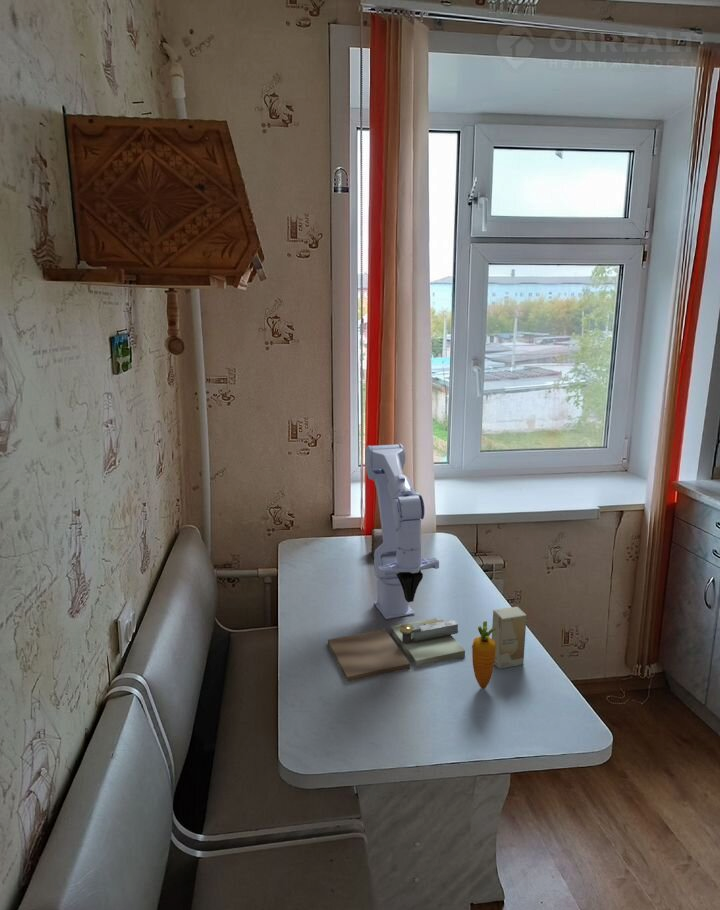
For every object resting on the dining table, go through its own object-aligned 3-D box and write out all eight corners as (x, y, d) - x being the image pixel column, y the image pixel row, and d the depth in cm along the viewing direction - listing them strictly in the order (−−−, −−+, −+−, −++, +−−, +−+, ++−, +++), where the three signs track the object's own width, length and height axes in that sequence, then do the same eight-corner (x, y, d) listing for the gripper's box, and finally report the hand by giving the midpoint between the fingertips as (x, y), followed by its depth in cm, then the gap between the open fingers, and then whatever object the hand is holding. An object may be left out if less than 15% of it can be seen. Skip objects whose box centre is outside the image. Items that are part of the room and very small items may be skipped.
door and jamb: (327, 644, 149) (327, 629, 148) (435, 623, 157) (435, 609, 156) (347, 681, 134) (346, 665, 133) (464, 656, 143) (465, 641, 142)
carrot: (478, 678, 134) (479, 615, 131) (499, 687, 131) (501, 622, 128) (466, 689, 131) (467, 624, 127) (487, 698, 128) (489, 632, 124)
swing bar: (402, 645, 144) (402, 632, 144) (397, 638, 147) (397, 625, 147) (458, 634, 148) (458, 621, 148) (452, 627, 151) (452, 615, 151)
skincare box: (499, 669, 138) (500, 619, 135) (489, 658, 142) (491, 609, 139) (525, 664, 139) (527, 614, 136) (515, 654, 143) (517, 605, 140)
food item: (411, 548, 205) (411, 520, 203) (416, 558, 197) (416, 528, 195) (370, 551, 204) (369, 522, 201) (373, 561, 196) (373, 531, 193)
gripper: (385, 556, 139) (386, 612, 142) (444, 547, 143) (444, 602, 146) (374, 545, 145) (375, 599, 148) (432, 537, 150) (432, 589, 153)
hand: (409, 600), depth 148 cm, fingers closed
